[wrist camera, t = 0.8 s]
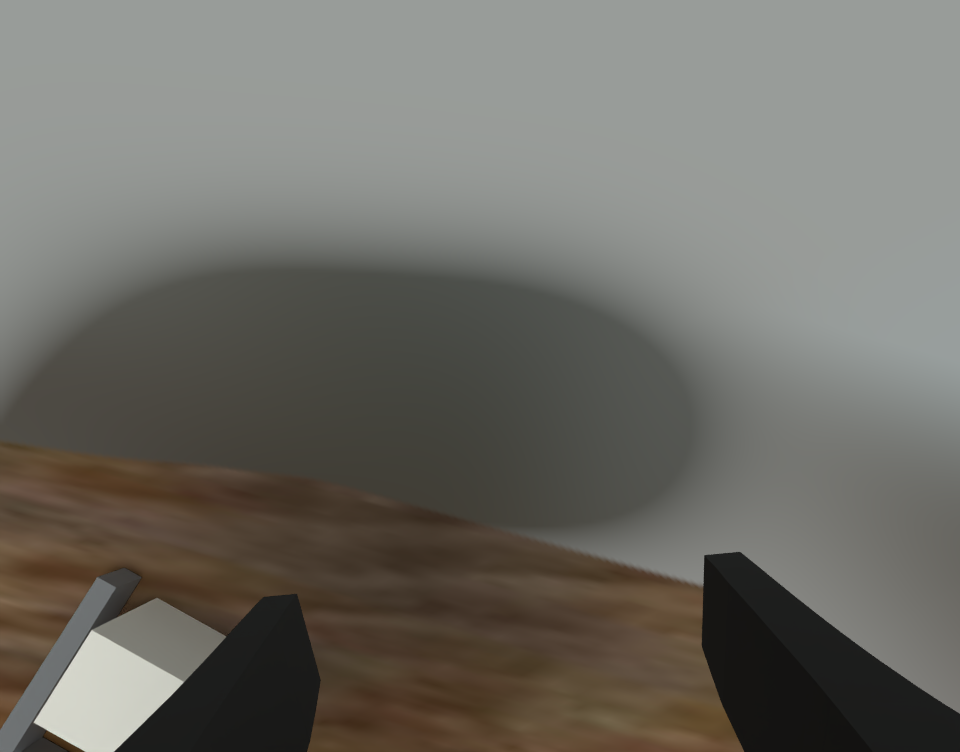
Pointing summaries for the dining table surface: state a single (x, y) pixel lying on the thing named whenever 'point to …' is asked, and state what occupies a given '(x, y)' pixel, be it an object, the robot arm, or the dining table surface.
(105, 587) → the port cradle
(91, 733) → the plug block
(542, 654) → the dining table surface
